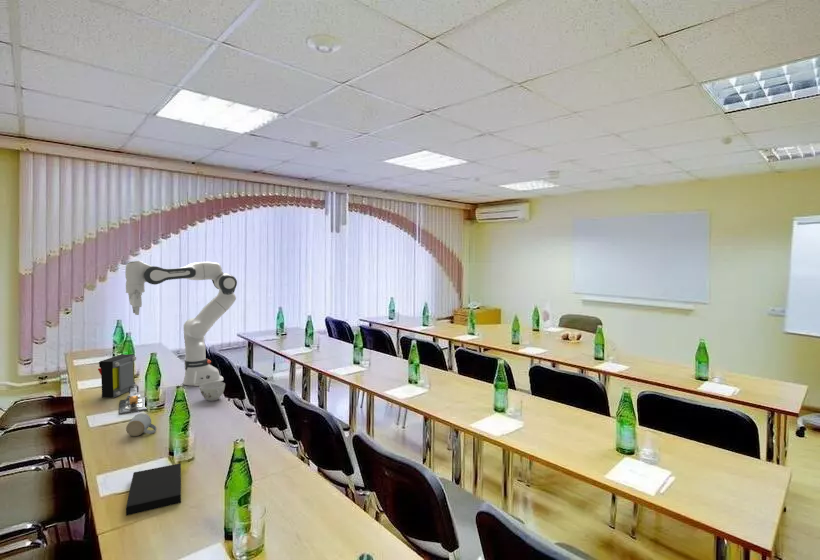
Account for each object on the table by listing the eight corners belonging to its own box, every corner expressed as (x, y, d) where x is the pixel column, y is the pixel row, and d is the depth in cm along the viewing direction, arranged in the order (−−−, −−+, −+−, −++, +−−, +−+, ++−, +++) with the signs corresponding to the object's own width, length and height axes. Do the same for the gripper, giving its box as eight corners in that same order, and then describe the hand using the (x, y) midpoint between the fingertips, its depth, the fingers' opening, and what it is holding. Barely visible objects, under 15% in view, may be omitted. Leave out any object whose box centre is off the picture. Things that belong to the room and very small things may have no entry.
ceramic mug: (124, 438, 179) (124, 420, 179) (132, 430, 187) (132, 413, 187) (153, 436, 182) (153, 418, 181) (159, 428, 190) (159, 411, 189)
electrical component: (117, 398, 231) (116, 361, 230) (98, 397, 231) (97, 361, 230) (138, 388, 248) (137, 354, 247) (121, 388, 248) (120, 354, 247)
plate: (147, 397, 231) (147, 395, 231) (148, 409, 213) (148, 407, 212) (120, 401, 224) (120, 399, 224) (119, 414, 206) (119, 412, 206)
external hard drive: (126, 516, 125) (125, 507, 125) (133, 480, 145) (133, 472, 145) (180, 504, 132) (180, 494, 132) (180, 471, 152) (180, 463, 152)
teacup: (196, 399, 229) (196, 384, 229) (220, 394, 238) (220, 380, 238) (206, 406, 219) (205, 390, 218) (230, 400, 227) (230, 385, 227)
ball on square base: (140, 395, 236) (140, 390, 235) (140, 398, 231) (140, 393, 230) (127, 396, 232) (127, 392, 232) (127, 400, 227) (127, 395, 227)
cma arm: (128, 391, 232) (128, 385, 232) (138, 390, 234) (138, 384, 234) (128, 404, 211) (128, 398, 211) (138, 403, 213) (138, 397, 213)
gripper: (144, 290, 233) (145, 315, 233) (139, 288, 249) (140, 311, 249) (130, 290, 229) (131, 316, 229) (126, 288, 245) (127, 312, 245)
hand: (136, 313), depth 240 cm, fingers open, 8 cm apart
